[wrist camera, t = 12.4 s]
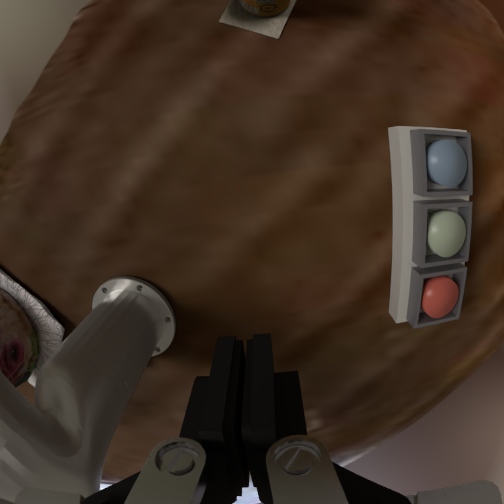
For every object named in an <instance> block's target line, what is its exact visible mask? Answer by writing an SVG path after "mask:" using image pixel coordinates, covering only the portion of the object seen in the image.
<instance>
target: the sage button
mask: <svg viewBox="0 0 504 504" xmlns="http://www.w3.org/2000/svg"><path fill="white" fill-rule="evenodd" d="M465 236H466V227H465V223H464V221H463V219H462V218H461V217H460V216H459V215H458V214H456V213H454V212H451V211H448V210H446V209H438V210H436V211H434V212H432V213H431V214H430V215H429V217H428V218H427V235H426V246H427V247H428V248H429V249H430V250H432V251H433V252H435V253H436V254H438V255H439V256H441V257H450V256H452V255H454V254H456V253H457V252H458V251H459V250H460V248H461V247H462V245H463V243H464V240H465Z"/></svg>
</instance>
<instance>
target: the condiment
mask: <svg viewBox="0 0 504 504" xmlns="http://www.w3.org/2000/svg"><path fill="white" fill-rule="evenodd" d="M295 2H296V0H230V1H229V3H228V5H227V7H226V9H225V11H224V13H223V15H222V16H221V19H220V21H219V22H222V23H226V24H229V25H233V26H237V27H240V28H244V29H247V30H251V31H254V32H258V33H261V34H264V35H267V36H271V37H274V38H277V39H279V37H280V34H281V32H282V30H283V28H284V25H285V23H286V21H287V19H288V17H289V15H290V13H291V11H292V8H293V6H294V4H295ZM238 5H240V6H238ZM268 19H270V20H268ZM266 20H268V21H267V22H265V21H266Z"/></svg>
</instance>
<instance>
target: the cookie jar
mask: <svg viewBox="0 0 504 504" xmlns="http://www.w3.org/2000/svg"><path fill="white" fill-rule="evenodd" d="M64 331H65V328H63V326H62V325H61V324H60V323H59V322H58V321H57V320H56V319H55V318H54V316H53V315H52V314H51V312H50V311H49V310H48V308H47V307H46V306H45V305H44V303H43V302H41V301H40V300H38V299H37V298H35V297H34V296H33V295H31V294H30V293H29V292H28V291H27V290H25V289H24V288H23V287H21V286H20V285H19V284H18V283H17V282H15V281H14V280H13V279H12V278H10V277H9V276H8V275H7V274H6V273H4V272H3V271H2V270H1V269H0V371H1V372H2V373H3V374H4V376H5V377H6V378H7V379H8V380H9V381H10V382H11V383H12V384H13V386H14V387H15V388H16V387H17V386H19V385H21V384H22V383H24V382H26V381H28V382H29V383H30V384H32V385H33V386H34V387H35V383H36V379H37V375H38V373H39V371H40V368H41V367H42V365H43V364H44V363H45V361H46V360H47V359H48V358H49V357H50V356H51V354H52V353H53V352H54V351H55V350H56V349H57V348H58V347H59V346H60V344H61V343H62V338H63V335H64Z"/></svg>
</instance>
